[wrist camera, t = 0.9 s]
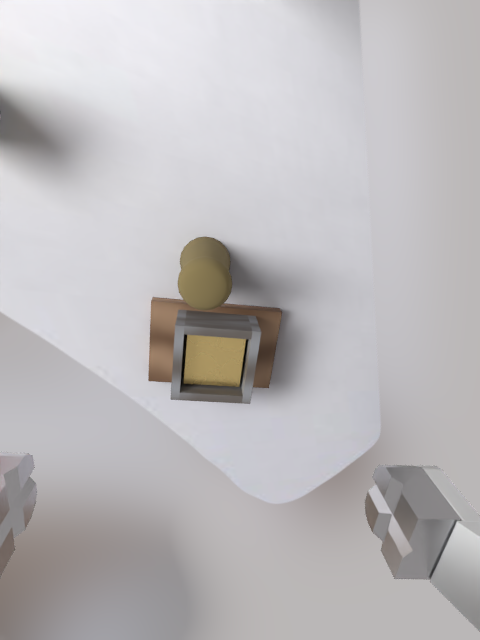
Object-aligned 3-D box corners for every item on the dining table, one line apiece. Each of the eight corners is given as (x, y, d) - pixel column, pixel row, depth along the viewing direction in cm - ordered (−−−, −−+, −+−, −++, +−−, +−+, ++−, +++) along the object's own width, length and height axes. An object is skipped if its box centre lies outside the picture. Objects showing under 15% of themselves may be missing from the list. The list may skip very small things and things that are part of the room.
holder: (152, 297, 44) (144, 316, 38) (279, 308, 46) (290, 328, 40) (150, 375, 48) (142, 403, 42) (267, 382, 50) (275, 410, 44)
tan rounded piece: (231, 237, 42) (239, 256, 32) (229, 286, 45) (236, 319, 34) (179, 236, 42) (170, 255, 32) (180, 286, 44) (172, 319, 34)
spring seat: (187, 328, 42) (187, 332, 41) (245, 333, 43) (246, 336, 42) (184, 379, 44) (183, 383, 43) (238, 382, 45) (239, 386, 44)
